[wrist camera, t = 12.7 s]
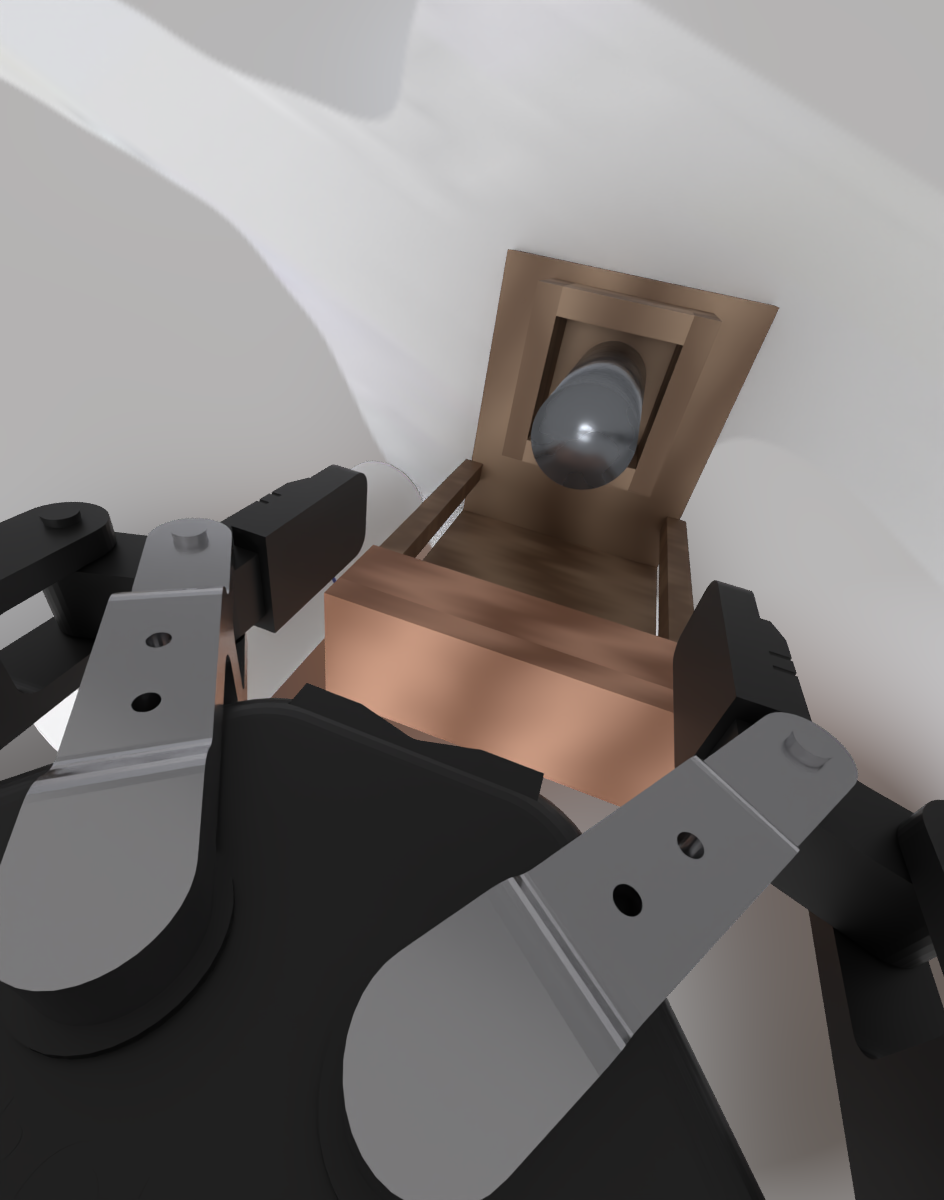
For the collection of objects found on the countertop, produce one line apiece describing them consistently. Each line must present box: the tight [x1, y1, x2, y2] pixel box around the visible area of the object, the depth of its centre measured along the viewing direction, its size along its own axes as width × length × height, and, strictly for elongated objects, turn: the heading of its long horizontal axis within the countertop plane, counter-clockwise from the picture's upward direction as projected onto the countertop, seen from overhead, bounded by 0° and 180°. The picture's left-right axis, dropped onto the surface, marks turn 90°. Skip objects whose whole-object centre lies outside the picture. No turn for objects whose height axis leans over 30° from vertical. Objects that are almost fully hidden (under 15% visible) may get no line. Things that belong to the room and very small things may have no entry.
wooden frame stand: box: [324, 249, 779, 807], centre depth 24 cm, size 15×18×19 cm
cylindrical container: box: [34, 461, 422, 751], centre depth 30 cm, size 7×7×25 cm
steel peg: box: [531, 341, 646, 490], centre depth 24 cm, size 4×4×12 cm
